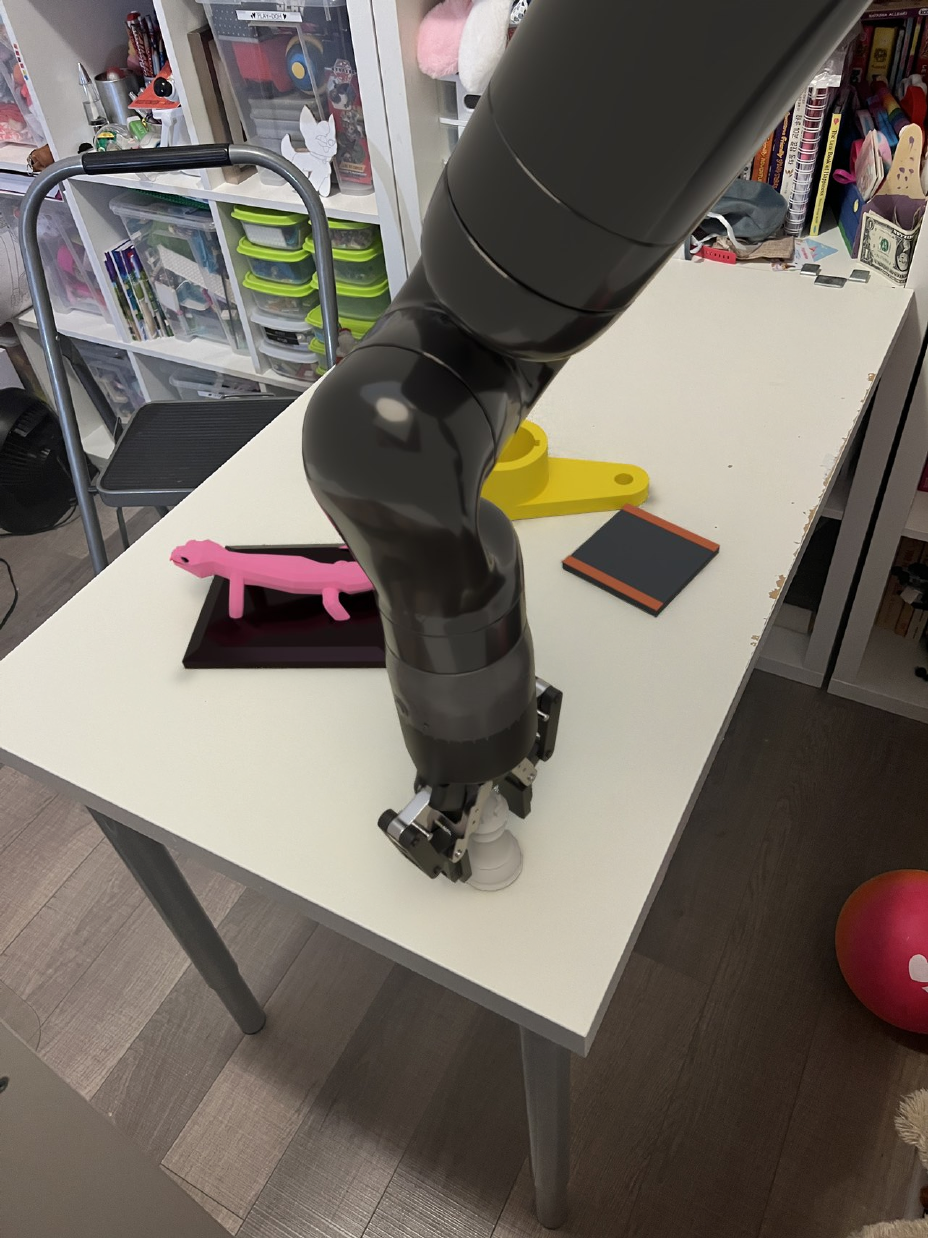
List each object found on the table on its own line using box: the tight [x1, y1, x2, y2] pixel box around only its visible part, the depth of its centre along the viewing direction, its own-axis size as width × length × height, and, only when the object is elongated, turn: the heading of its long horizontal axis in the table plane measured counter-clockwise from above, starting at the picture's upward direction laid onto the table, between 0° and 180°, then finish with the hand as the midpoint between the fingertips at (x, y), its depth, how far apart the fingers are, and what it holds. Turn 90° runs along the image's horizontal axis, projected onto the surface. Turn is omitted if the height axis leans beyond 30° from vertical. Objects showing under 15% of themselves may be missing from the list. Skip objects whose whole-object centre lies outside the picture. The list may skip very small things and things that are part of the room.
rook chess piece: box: [466, 787, 524, 892], centre depth 58 cm, size 4×4×8 cm
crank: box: [481, 419, 650, 521], centre depth 85 cm, size 18×8×6 cm, turn 83°
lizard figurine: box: [169, 538, 387, 670], centre depth 77 cm, size 15×20×7 cm
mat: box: [561, 503, 721, 618], centre depth 79 cm, size 10×10×1 cm
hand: (487, 838), depth 58 cm, fingers open, 5 cm apart
